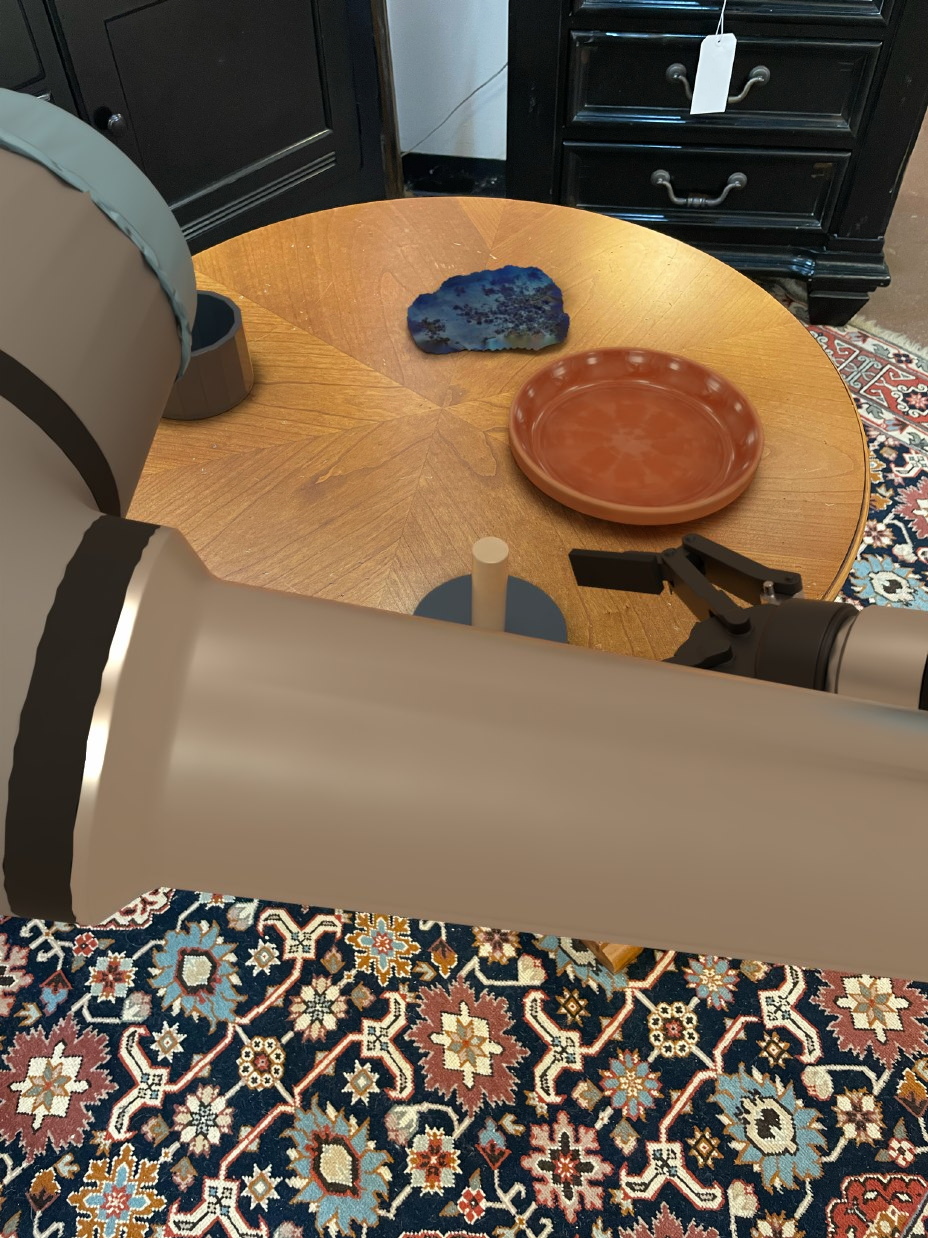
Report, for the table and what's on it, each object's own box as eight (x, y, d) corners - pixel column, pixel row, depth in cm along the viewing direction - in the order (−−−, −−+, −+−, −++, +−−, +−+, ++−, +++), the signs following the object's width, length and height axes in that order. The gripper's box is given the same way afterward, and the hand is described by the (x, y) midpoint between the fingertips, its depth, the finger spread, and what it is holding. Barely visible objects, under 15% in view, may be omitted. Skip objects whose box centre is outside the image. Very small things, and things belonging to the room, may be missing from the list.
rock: (573, 351, 98) (575, 335, 97) (407, 358, 98) (406, 341, 96) (558, 277, 108) (559, 261, 106) (407, 283, 108) (406, 267, 106)
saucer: (802, 445, 89) (813, 414, 86) (661, 581, 78) (669, 549, 75) (605, 349, 99) (609, 317, 96) (456, 457, 88) (456, 425, 85)
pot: (137, 427, 91) (117, 365, 86) (138, 357, 98) (119, 296, 93) (258, 411, 92) (245, 349, 87) (250, 344, 100) (237, 282, 94)
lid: (425, 718, 70) (420, 630, 62) (397, 595, 77) (389, 502, 69) (585, 689, 71) (600, 600, 63) (542, 571, 79) (551, 478, 71)
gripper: (770, 907, 45) (433, 799, 58) (926, 592, 59) (625, 564, 72) (743, 796, 41) (389, 708, 54) (917, 487, 55) (601, 478, 68)
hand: (523, 626), depth 63 cm, fingers open, 13 cm apart
